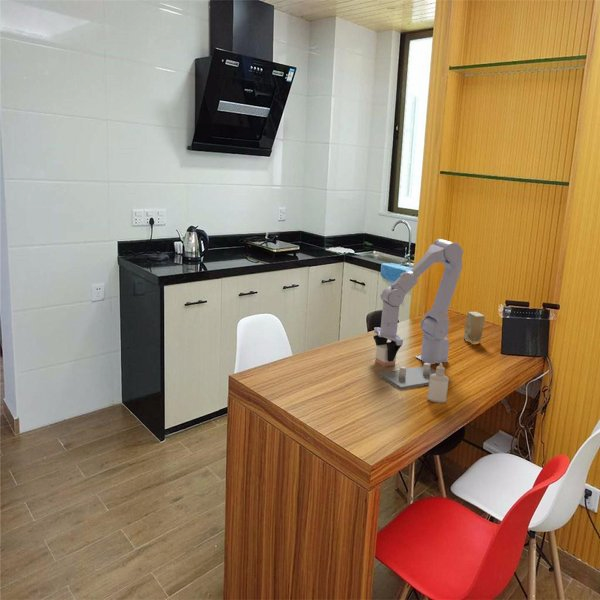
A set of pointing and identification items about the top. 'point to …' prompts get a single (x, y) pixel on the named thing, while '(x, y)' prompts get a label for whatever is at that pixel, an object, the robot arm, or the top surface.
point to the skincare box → (474, 327)
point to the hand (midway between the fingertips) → (385, 358)
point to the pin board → (409, 376)
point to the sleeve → (383, 356)
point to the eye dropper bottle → (438, 385)
